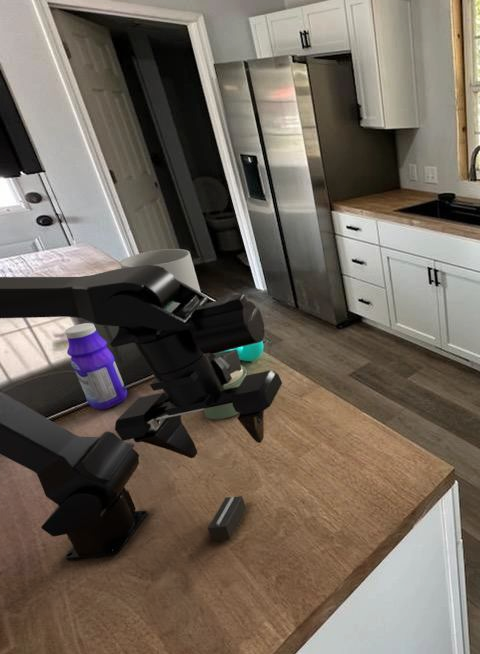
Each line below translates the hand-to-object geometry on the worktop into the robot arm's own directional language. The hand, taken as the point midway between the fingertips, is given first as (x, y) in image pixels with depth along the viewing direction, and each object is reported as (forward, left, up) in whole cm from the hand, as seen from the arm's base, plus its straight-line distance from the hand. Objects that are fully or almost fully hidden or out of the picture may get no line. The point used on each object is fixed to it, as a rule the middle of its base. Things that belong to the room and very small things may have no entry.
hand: (228, 447), depth 60 cm
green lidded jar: (+25, +14, -12) cm, 31 cm away
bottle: (+29, +39, -12) cm, 50 cm away
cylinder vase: (+48, +35, -12) cm, 61 cm away
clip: (-3, +1, -12) cm, 12 cm away
